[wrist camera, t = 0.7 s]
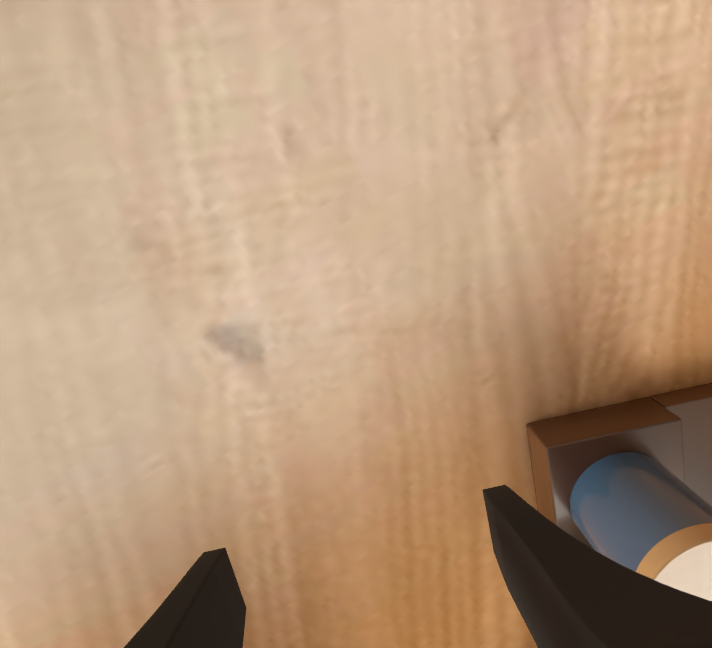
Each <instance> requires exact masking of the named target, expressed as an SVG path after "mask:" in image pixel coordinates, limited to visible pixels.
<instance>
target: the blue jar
mask: <svg viewBox="0 0 712 648" xmlns="http://www.w3.org/2000/svg"><path fill="white" fill-rule="evenodd" d="M570 511H571V515H572V518H573V521H574V522H575V524H576V526H577V527H578V529H579V530H580V531H581V533H582V534H583V535H584V537H585V538H586V540H587V541H588V542H589V544H590V545H591V547H592V548H593V549H594V550H595V551H596V552H598V553H600V554H602V555H604V556H606V557H608V558H609V559H611V560H613V561H615V562H617V563H619V564H621V565H623V566H625V567H627V568H629V569H631V570H633V571H635V572H637V573H640V574H642V575H644V576H646V577H649V578H651V579H653V580H655V581H658V582H660V583H662V584H665V585H668V586H670V587H673V588H675V589H678V590H680V591H683V592H686V593H689V594H692V595H695V596H697V597H700V598H703V599H706V600H709V601H712V506H711V505H709V504H708V503H707V502H706V501H705V500H703V499H702V498H701V497H700V496H699V495H698V494H696V493H695V492H694V491H693V490H692V489H690V488H689V487H688V486H687V485H686V484H684V483H683V482H682V481H681V480H680V479H678V478H677V477H676V476H675V475H674V474H673V473H671V472H670V471H669V470H668V469H667V468H665V467H664V466H663V465H662V464H661V463H659V462H658V461H657V460H655V459H654V458H652V457H650V456H648V455H645V454H641V453H637V452H620V453H615V454H611V455H608V456H606V457H603V458H601V459H599V460H598V461H596V462H594V463H593V464H592V465H590V466H589V467H588V468H587V469H586V470H585V471H584V472H583V473H582V474H581V475H580V477H579V478H578V479H577V481H576V483H575V485H574V487H573V490H572V493H571V497H570Z"/></svg>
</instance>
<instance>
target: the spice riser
mask: <svg viewBox="0 0 712 648" xmlns="http://www.w3.org/2000/svg"><path fill="white" fill-rule="evenodd" d="M526 426H527V434H528V441H529V448H530V455H531V462H532V469H533V476H534V484H535V491H536V498H537V505H538V512H539V513H541V514H542V515H543V516H545V517H546V518H547V519H549V520H550V521H551V522H553V523H554V524H555V525H557V526H558V527H560V528H561V529H562V530H564V531H565V532H567V533H568V534H570V535H571V536H573V537H574V538H576V539H577V540H579V541H580V542H582V543H583V544H585V545H587V546H588V547H590V548H591V549H593V548H592V547H591V545H590V544H589V542H588V541H587V540H586V538H585V537H584V535H583V534H582V533H581V531H580V530H579V529H578V527H577V526H576V524H575V522H574V521H573V518H572V515H571V511H570V497H571V493H572V490H573V487H574V485H575V483H576V481H577V479H578V478H579V477H580V475H581V474H582V473H583V472H584V471H585V470H586V469H587V468H588V467H589V466H590V465H592V464H593V463H594V462H596V461H598V460H599V459H601V458H603V457H606V456H608V455H611V454H615V453H620V452H637V453H641V454H645V455H648V456H650V457H652V458H654V459H655V460H657V461H658V462H659V463H661V464H662V465H663V466H664V467H665V468H667V469H668V470H669V471H670V472H671V473H673V474H674V475H675V476H676V477H677V478H678V479H680V480H681V481H682V482H683V483H684V484H686V485H687V486H688V487H689V488H690V489H692V490H693V491H694V492H695V493H696V494H698V495H699V496H700V497H701V498H702V499H703V500H705V501H706V502H707V503H708V504H709V505H711V506H712V383H710V384H706V385H701V386H697V387H692V388H687V389H683V390H678V391H674V392H669V393H664V394H660V395H655V396H651V397H650V398H649V397H647V398H643V399H638V400H633V401H629V402H624V403H620V404H615V405H610V406H606V407H601V408H597V409H592V410H587V411H583V412H578V413H574V414H569V415H564V416H560V417H555V418H551V419H546V420H541V421H537V422H532V423H528V424H527V425H526ZM593 550H594V549H593Z"/></svg>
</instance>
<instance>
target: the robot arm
mask: <svg viewBox="0 0 712 648" xmlns="http://www.w3.org/2000/svg"><path fill="white" fill-rule="evenodd" d="M483 494H484V500H485V505H486V511H487V516H488V522H489V527H490V533H491V538H492V543H493V549H494V553H495V556H496V559H497V561H498V564H499V567H500V569H501V572H502V575H503V577H504V580H505V582H506V585H507V587H508V590H509V592H510V594H511V596H512V598H513V600H514V601H515V603H516V605H517V607H518V609H519V611H520V613H521V615H522V617H523V619H524V621H525V623H526V625H527V627H528V629H529V631H530V633H531V635H532V637H533V638H534V640H535V642H536V644H537V646H538V648H712V601H709V600H706V599H703V598H700V597H697V596H695V595H692V594H689V593H686V592H683V591H680V590H678V589H675V588H673V587H670V586H668V585H665V584H662V583H660V582H658V581H655V580H653V579H651V578H649V577H646V576H644V575H642V574H640V573H637V572H635V571H633V570H631V569H629V568H627V567H625V566H623V565H621V564H619V563H617V562H615V561H613V560H611V559H609V558H608V557H606V556H604V555H602V554H600V553H598V552H596V551H595V550H593V549H591V548H590V547H588V546H587V545H585V544H583V543H582V542H580V541H579V540H577V539H576V538H574V537H573V536H571V535H570V534H568V533H567V532H565V531H564V530H562V529H561V528H560V527H558V526H557V525H555V524H554V523H553V522H551V521H550V520H549V519H547V518H546V517H545V516H543V515H542V514H541V513H539V512H538V511H537V510H535V509H534V508H533V507H532V506H530V505H529V504H528V503H527V502H525V501H524V500H523V499H522V498H521V497H519V496H518V495H517V494H516V493H515V492H514V491H512V490H511V489H510V488H509V487H507V486H506V485H502V486H497V487H493V488H488V489H484V490H483ZM245 615H246V606H245V603H244V600H243V597H242V594H241V592H240V589H239V586H238V583H237V580H236V577H235V574H234V571H233V569H232V566H231V563H230V560H229V557H228V554H227V551H226V548H222V549H217V550H213V551H208V552H204V553H203V554H202V555H201V556H200V557H199V558H198V560H197V561H196V562H195V563H194V565H193V566H192V567H191V568H190V570H189V571H188V572H187V573H186V575H185V576H184V577H183V578H182V580H181V581H180V582H179V583H178V585H177V586H176V587H175V588H174V590H173V591H172V592H171V593H170V595H169V596H168V597H167V598H166V599H165V601H164V602H163V603H162V604H161V606H160V607H159V608H158V609H157V610H156V612H155V613H154V614H153V615H152V616H151V617H150V619H149V620H148V621H147V622H146V623H145V624H144V625H143V627H142V628H141V629H140V630H139V631H138V632H137V633H136V634H135V636H134V637H133V638H132V639H131V640H130V641H129V642H128V644H127V645H126V646H125V647H124V648H242V647H243V637H244V627H245Z"/></svg>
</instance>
